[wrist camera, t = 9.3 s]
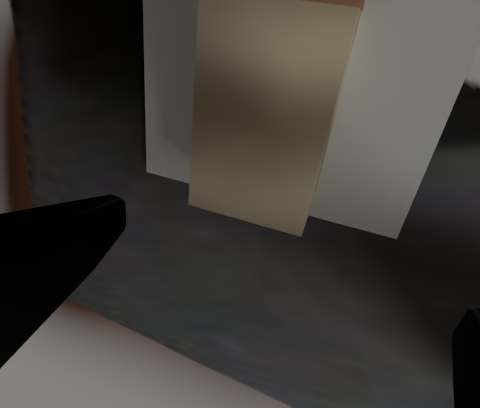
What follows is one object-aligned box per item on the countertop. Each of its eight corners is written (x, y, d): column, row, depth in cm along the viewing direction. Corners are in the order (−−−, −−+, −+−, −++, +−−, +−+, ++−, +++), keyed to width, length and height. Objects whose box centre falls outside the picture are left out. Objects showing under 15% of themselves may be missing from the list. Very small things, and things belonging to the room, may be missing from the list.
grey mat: (525, -75, 13) (531, -79, 12) (396, 233, 19) (396, 239, 19) (147, -98, 16) (140, -102, 16) (151, 168, 23) (146, 172, 23)
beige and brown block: (313, 201, 20) (301, 237, 16) (217, 176, 21) (188, 204, 18) (379, -56, 14) (382, -83, 10) (240, -67, 15) (203, -94, 12)
